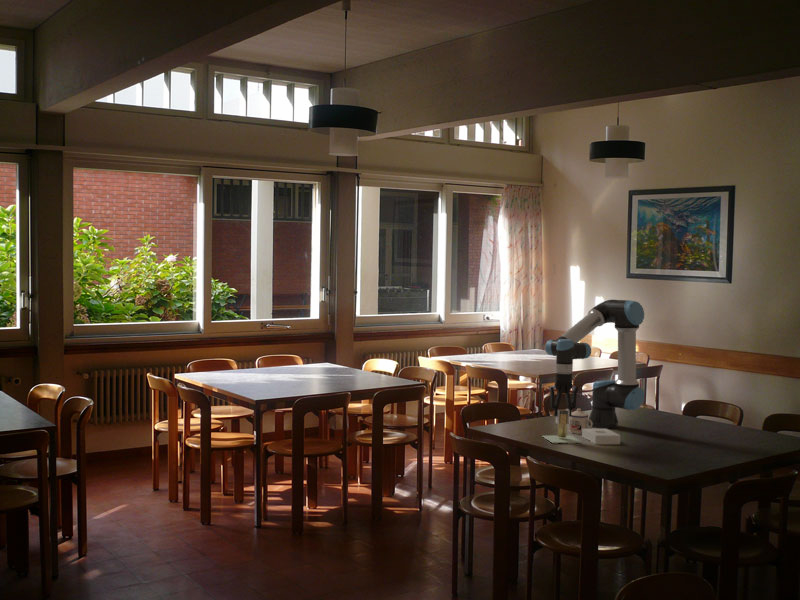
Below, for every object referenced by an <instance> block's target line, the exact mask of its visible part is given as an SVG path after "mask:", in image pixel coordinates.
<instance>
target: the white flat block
mask: <svg viewBox="0 0 800 600" xmlns="http://www.w3.org/2000/svg"><path fill="white" fill-rule="evenodd" d="M581 437H582V438H583V437H584V438H583V439H585V438H586V439H588V440H590V441H591V442H590V441H589V442H590V443H592V442H593V443H592V444H594V443H595V444H594V445H621V434H618V433H616V432H614V431H612V430H611V429H609V428H591V429H582V434H581ZM586 439H585V440H586ZM588 440H587V441H588Z"/></svg>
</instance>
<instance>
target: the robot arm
mask: <svg viewBox="0 0 800 600" xmlns="http://www.w3.org/2000/svg"><path fill="white" fill-rule="evenodd" d="M644 320H645V310H644V308H643V305H641V303H640V302H639V301H636V300H631V299H608V300H605V301H602V302H600V303H598V304H597V305H594V307H592V308H591V309H590V310H588V312H587V314H586V315H585V316H584V317H582V318H581V319H580V320H579V321H577V323H575V324H574V325H573V326H572V327H571V328H569V329H568V330H566V332H564V333H563V334H561V335H560V336H559V337H557V338H556V339H549V340H547V341H546V342H545V346H544V349H545V353H546V354H547V355H548V356H553V357H556V359H555V360H556V361H555V362H556V364H555V372H556V373H555V382H554V385H552V386H551V385H550V386H549V387H548V389H549V392H550V393H549V395H550V397H549V404H550V405H549V406H550V407H549V408H551V409H553V416H554V417H555V424H557V425H558V424H559V416H560V410H561V409H559V407H560V403H561V398H562V395H563V394H564V395H565V400H566V407H567V408H565V410H566V411H567V425H569V422H570V416H571V413H572V411H573V409H576V408H577V407H576V406H577V394H578V390H579V387H578V386H575V385H574V384H573V374H572V373H573V369H574V368H573V367H574V366H573V365H574V364H573V363H574V362H573V361H574V360H585V359H588V358H590V357H591V355H592V347H591V345H590V344H589V343H587V342H580V341H582V340H583V339H584V338H585V337H586V336H588V335H589V334H590V333H591V332H592V331H594V330H595V329H596V328H597V327H602V326H603V325H605V324H607V323H611V324H612V323H613V324H614V328H615V330H616V331H617V379H616V380H611V379H610V380H596V381H594V382H593V383H592V390H591V391H592V395H591V396H592V397H591V399H592V400H591V411H590V413H589V415H588V419H590V420H591V421H592V423H593V425H592V428H597V429H615V428H616V429H617V428H619V420H618V419H619V418H618V416H617V413H616V408H618V409H621V410H623V409H624V410H627V411H636V410H638V409H640V407H641V406H642V404H643V402H644V400H645V391H644V389H643V388H642V387H640V382H639V380H638V379H637V331H638V330H639V328H640V325H641V324H642V323H643V322H644ZM555 390H556V395H555ZM570 391H572V392H570ZM570 393H571V394H570ZM555 396H556V397H555ZM590 425H591V423H590V422H589V421H588V426H589V427H590Z"/></svg>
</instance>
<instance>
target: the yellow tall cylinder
mask: <svg viewBox="0 0 800 600" xmlns="http://www.w3.org/2000/svg"><path fill="white" fill-rule="evenodd" d="M559 410H560V416H559V424H557V436H558V437H562V438H565V437H566V435H567V431H568V430H567V429H568V424H567V411H566V409H559Z"/></svg>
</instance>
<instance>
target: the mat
mask: <svg viewBox="0 0 800 600" xmlns="http://www.w3.org/2000/svg"><path fill="white" fill-rule="evenodd" d="M542 437H544V438H545V439H547V440H549V441H550V442H552V443H582V444H583V441H582V440H580V439H578V438H577V437H574V436H573V435H567V434H566V437H565V438H562V437H558V435H542V436H541V438H542ZM545 439H544V440H545ZM550 442H549V443H550Z"/></svg>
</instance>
